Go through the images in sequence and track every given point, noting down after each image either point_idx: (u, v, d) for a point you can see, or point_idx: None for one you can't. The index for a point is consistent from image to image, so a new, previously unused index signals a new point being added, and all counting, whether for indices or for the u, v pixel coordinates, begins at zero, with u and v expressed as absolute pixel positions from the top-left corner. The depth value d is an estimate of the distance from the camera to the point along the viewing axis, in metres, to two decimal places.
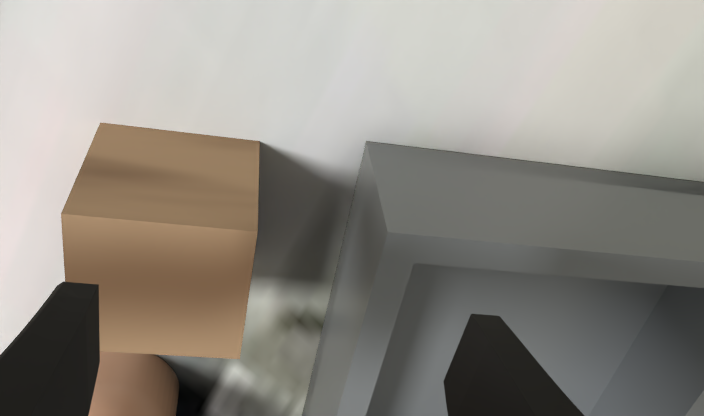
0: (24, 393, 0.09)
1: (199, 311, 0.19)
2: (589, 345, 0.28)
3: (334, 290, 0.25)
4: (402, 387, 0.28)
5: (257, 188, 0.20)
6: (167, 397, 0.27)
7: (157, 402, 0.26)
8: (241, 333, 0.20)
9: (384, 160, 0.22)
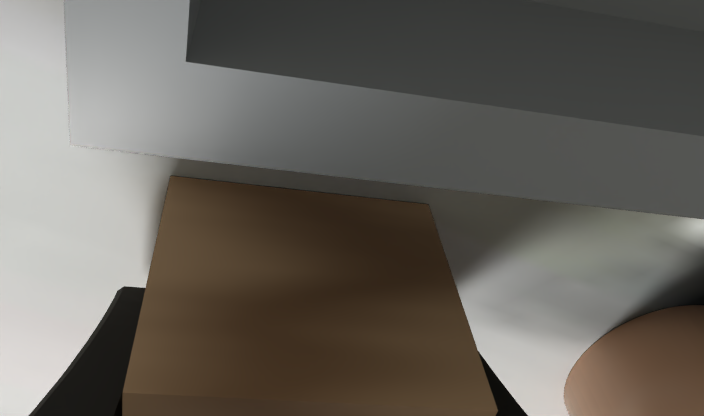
0: (103, 396, 0.09)
1: None
2: None
3: None
4: None
5: (147, 281, 0.10)
6: (684, 359, 0.15)
7: (673, 390, 0.14)
8: (420, 409, 0.09)
9: None
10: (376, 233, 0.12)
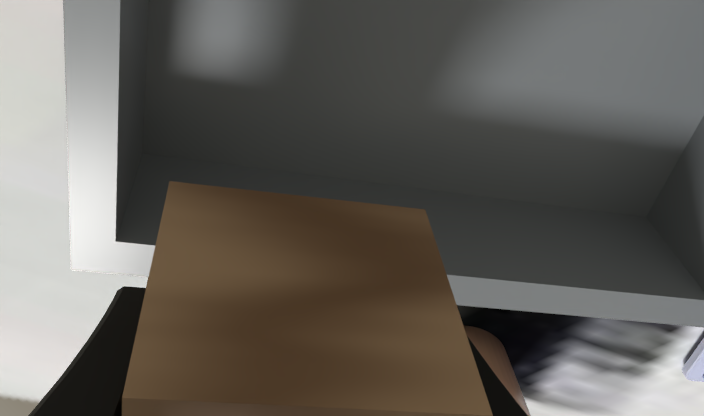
0: (102, 396, 0.09)
1: None
2: None
3: None
4: (504, 117, 0.19)
5: (147, 286, 0.10)
6: None
7: None
8: (416, 413, 0.09)
9: None
10: (373, 238, 0.12)
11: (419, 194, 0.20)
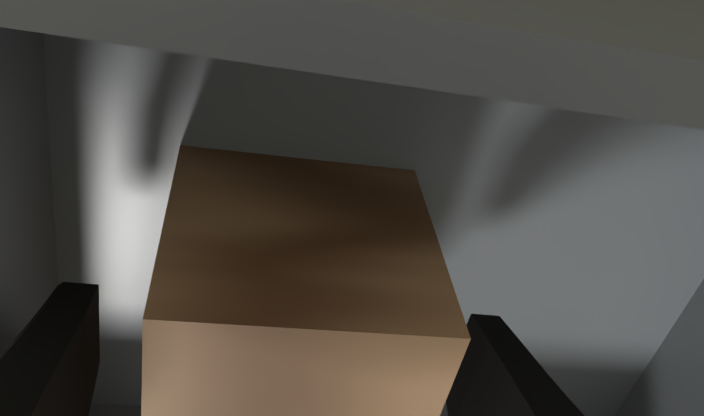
0: (24, 393, 0.09)
1: (337, 390, 0.11)
2: (401, 93, 0.13)
3: None
4: None
5: (162, 231, 0.11)
6: None
7: None
8: (402, 336, 0.10)
9: None
10: (366, 194, 0.13)
11: None
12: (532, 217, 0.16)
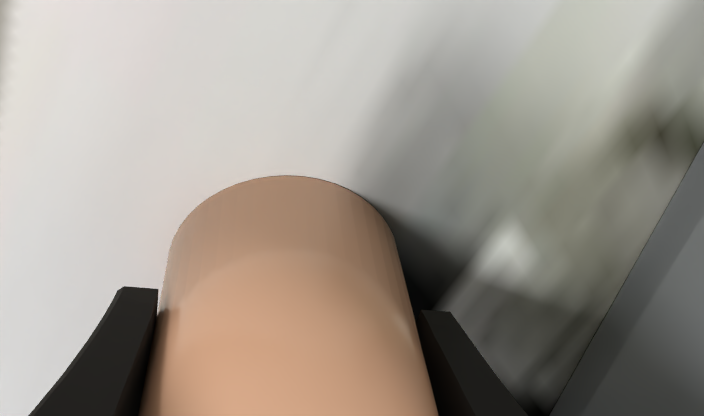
0: (103, 397, 0.09)
1: None
2: None
3: None
4: None
5: None
6: (405, 282, 0.13)
7: (398, 285, 0.12)
8: None
9: None
10: None
11: None
12: None
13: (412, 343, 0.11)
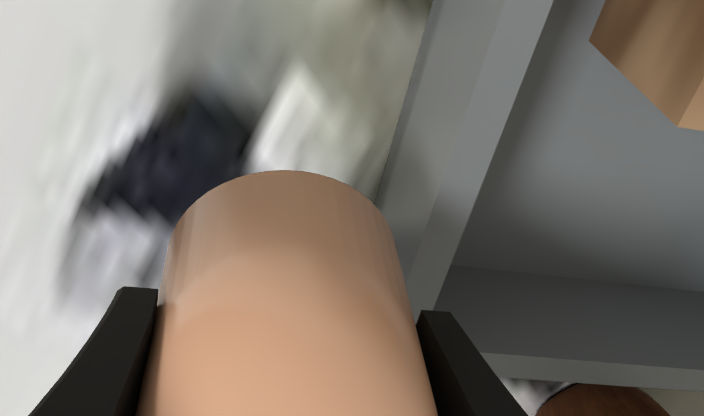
0: (102, 397, 0.09)
1: None
2: None
3: None
4: (536, 113, 0.20)
5: None
6: (403, 277, 0.13)
7: (396, 278, 0.12)
8: None
9: None
10: None
11: None
12: (665, 154, 0.21)
13: (409, 336, 0.11)
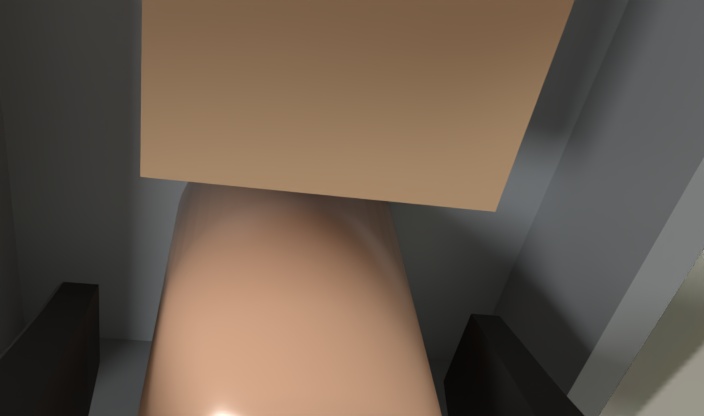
0: (24, 393, 0.09)
1: (441, 79, 0.08)
2: None
3: None
4: None
5: None
6: (395, 233, 0.14)
7: (389, 232, 0.13)
8: (516, 145, 0.09)
9: None
10: None
11: None
12: None
13: (400, 280, 0.12)
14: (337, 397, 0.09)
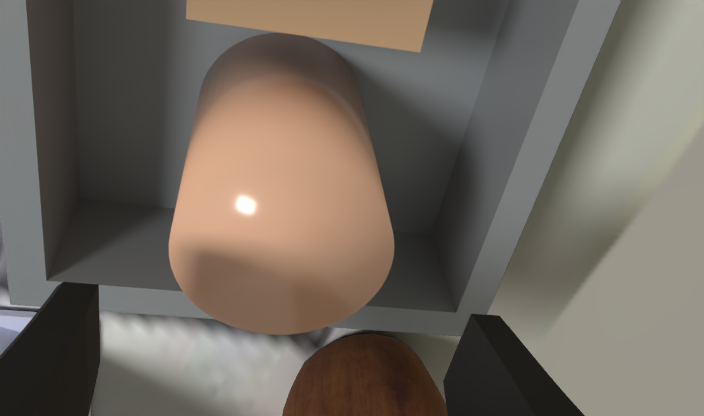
0: (24, 393, 0.09)
1: None
2: None
3: None
4: (175, 35, 0.19)
5: None
6: (363, 107, 0.19)
7: (357, 100, 0.18)
8: (430, 2, 0.14)
9: None
10: None
11: None
12: None
13: (362, 126, 0.17)
14: (310, 161, 0.14)
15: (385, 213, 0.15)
